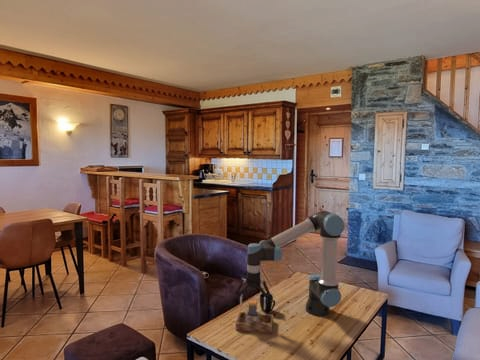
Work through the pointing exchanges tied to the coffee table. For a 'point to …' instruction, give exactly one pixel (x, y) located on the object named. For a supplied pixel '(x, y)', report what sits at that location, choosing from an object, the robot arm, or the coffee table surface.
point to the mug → (269, 303)
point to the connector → (252, 307)
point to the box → (254, 322)
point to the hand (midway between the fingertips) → (252, 307)
